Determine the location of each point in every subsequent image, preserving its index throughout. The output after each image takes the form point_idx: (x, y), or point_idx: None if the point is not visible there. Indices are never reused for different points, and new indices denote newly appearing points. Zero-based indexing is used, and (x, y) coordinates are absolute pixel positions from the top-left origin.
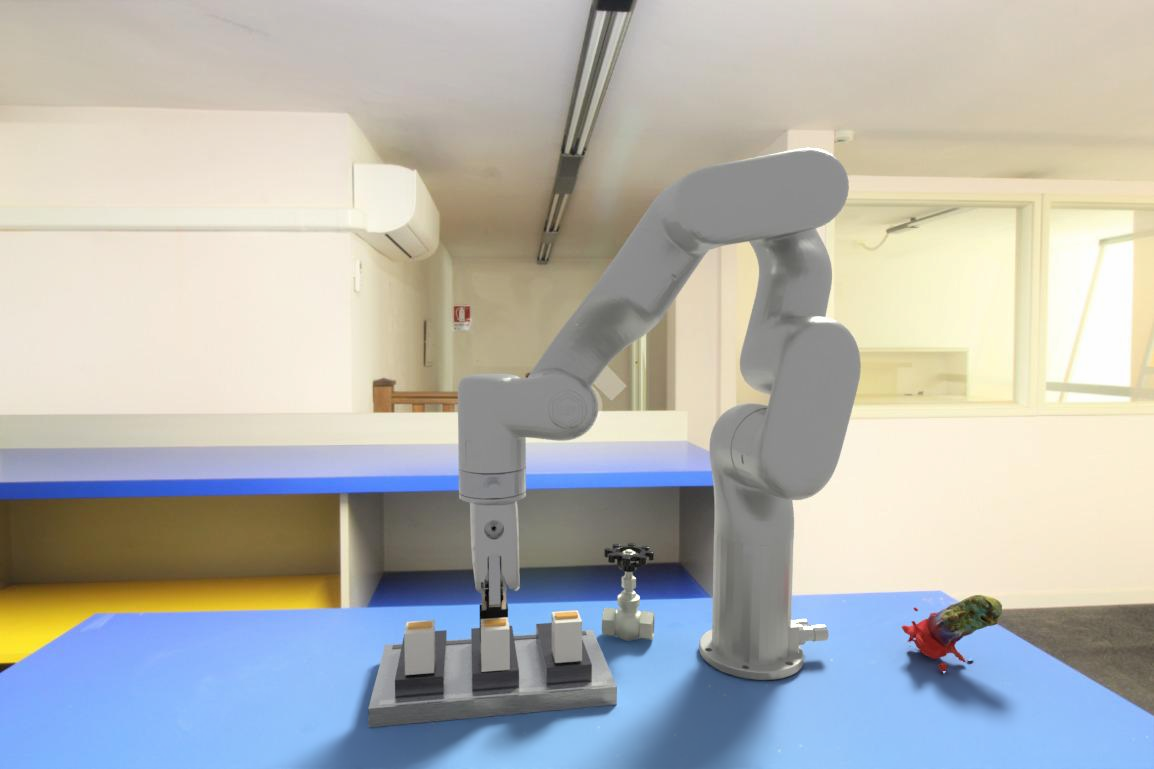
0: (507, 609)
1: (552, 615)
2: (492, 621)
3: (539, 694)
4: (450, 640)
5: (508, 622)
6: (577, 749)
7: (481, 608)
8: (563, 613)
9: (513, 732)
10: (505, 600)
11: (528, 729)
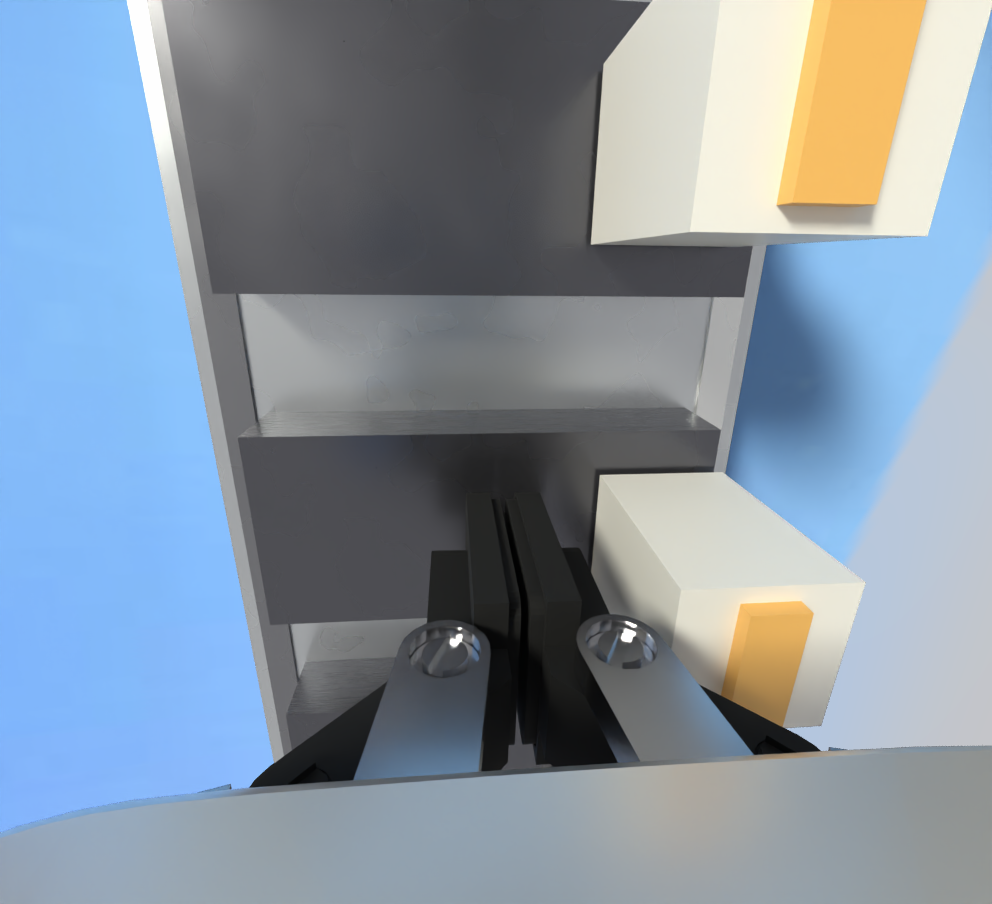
0: (580, 599)
1: (747, 233)
2: (766, 689)
3: (750, 330)
4: (256, 653)
5: (764, 586)
6: (957, 218)
7: (539, 754)
8: (840, 111)
9: (791, 417)
10: (702, 693)
11: (794, 369)
